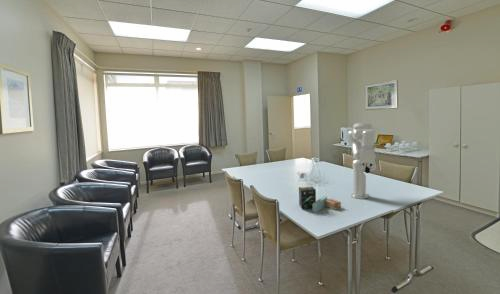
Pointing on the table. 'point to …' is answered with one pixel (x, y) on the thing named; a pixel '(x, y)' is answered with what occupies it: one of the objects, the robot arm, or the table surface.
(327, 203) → the block
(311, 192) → the tampon box
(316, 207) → the board
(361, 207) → the table surface
